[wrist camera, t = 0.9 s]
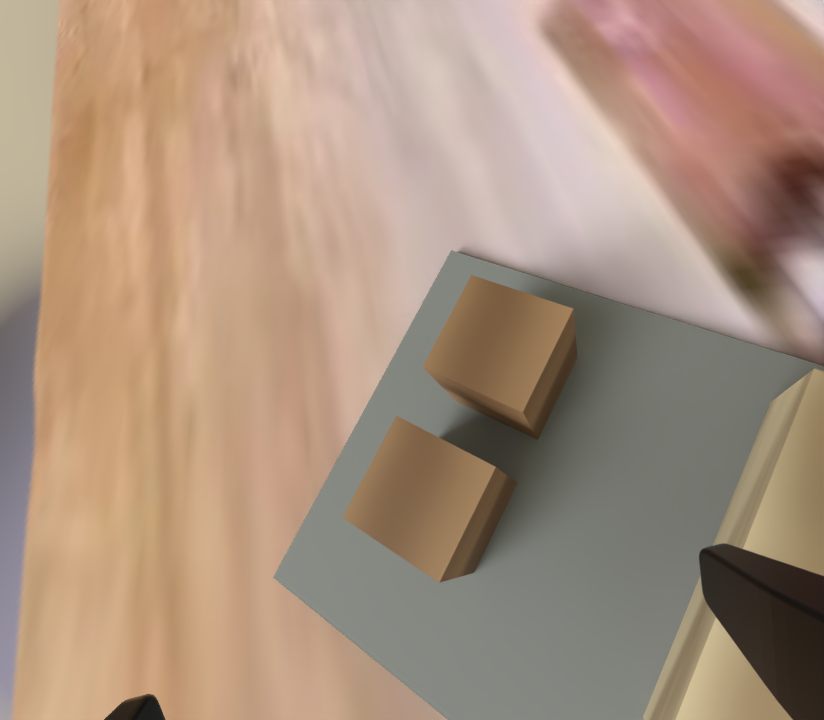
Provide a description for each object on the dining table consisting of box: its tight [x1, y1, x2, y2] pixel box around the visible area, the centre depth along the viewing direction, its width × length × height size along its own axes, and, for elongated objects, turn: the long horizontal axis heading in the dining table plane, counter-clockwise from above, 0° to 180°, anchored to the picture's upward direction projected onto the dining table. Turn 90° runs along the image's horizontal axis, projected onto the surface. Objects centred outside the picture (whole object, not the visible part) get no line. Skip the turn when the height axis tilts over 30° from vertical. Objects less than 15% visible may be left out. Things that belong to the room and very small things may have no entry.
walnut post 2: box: [342, 416, 517, 583], centre depth 18 cm, size 4×4×5 cm
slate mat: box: [273, 250, 824, 720], centre depth 19 cm, size 20×18×1 cm
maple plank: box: [643, 369, 824, 720], centre depth 15 cm, size 4×12×4 cm, turn 150°
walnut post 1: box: [423, 275, 577, 440], centre depth 19 cm, size 4×4×5 cm
